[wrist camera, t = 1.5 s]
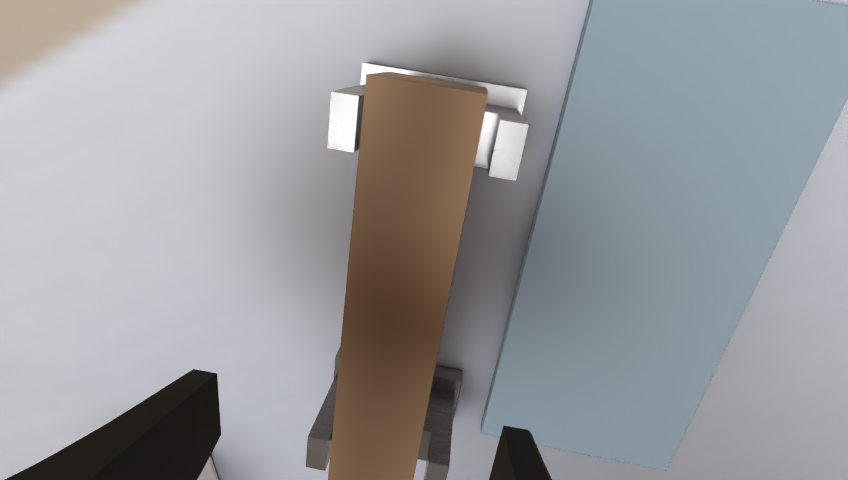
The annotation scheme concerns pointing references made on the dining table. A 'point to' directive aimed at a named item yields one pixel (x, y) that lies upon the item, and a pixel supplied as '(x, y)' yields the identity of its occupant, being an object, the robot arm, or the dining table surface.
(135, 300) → the dining table surface
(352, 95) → the bracket
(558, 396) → the mat
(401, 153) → the rail
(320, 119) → the dining table surface
